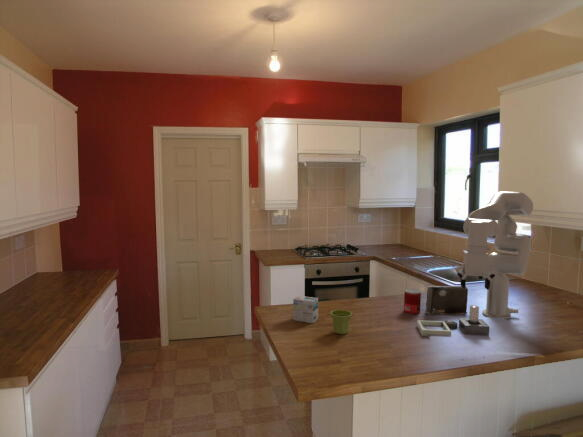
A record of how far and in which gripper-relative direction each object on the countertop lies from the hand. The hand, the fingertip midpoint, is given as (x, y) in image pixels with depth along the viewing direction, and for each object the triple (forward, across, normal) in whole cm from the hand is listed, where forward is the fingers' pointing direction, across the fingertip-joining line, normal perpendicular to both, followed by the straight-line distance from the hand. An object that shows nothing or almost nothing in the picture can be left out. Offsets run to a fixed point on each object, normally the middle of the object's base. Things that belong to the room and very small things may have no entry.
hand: (475, 288), depth 174 cm
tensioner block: (+20, 0, 0) cm, 20 cm away
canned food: (+21, +22, -26) cm, 40 cm away
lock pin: (+19, 0, 0) cm, 19 cm away
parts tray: (+20, +17, 0) cm, 26 cm away
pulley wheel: (+20, +9, -5) cm, 23 cm away
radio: (+21, +5, -27) cm, 34 cm away
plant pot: (+21, +58, +6) cm, 62 cm away
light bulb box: (+21, +75, -6) cm, 78 cm away
